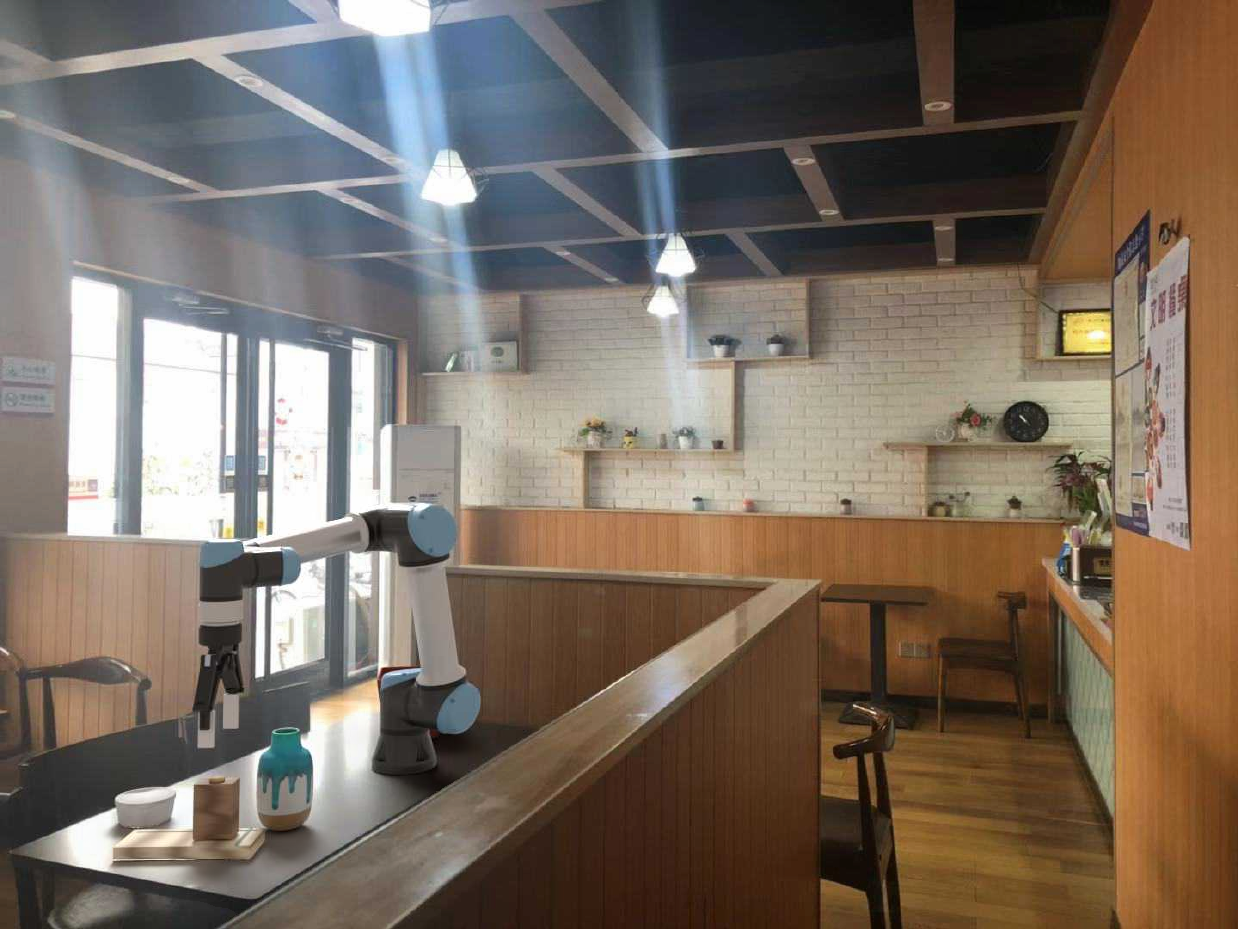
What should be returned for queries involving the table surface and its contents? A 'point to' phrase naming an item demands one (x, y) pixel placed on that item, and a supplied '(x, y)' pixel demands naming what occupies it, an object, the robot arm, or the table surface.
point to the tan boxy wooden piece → (216, 808)
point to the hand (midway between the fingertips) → (218, 737)
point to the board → (188, 845)
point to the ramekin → (145, 806)
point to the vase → (284, 782)
